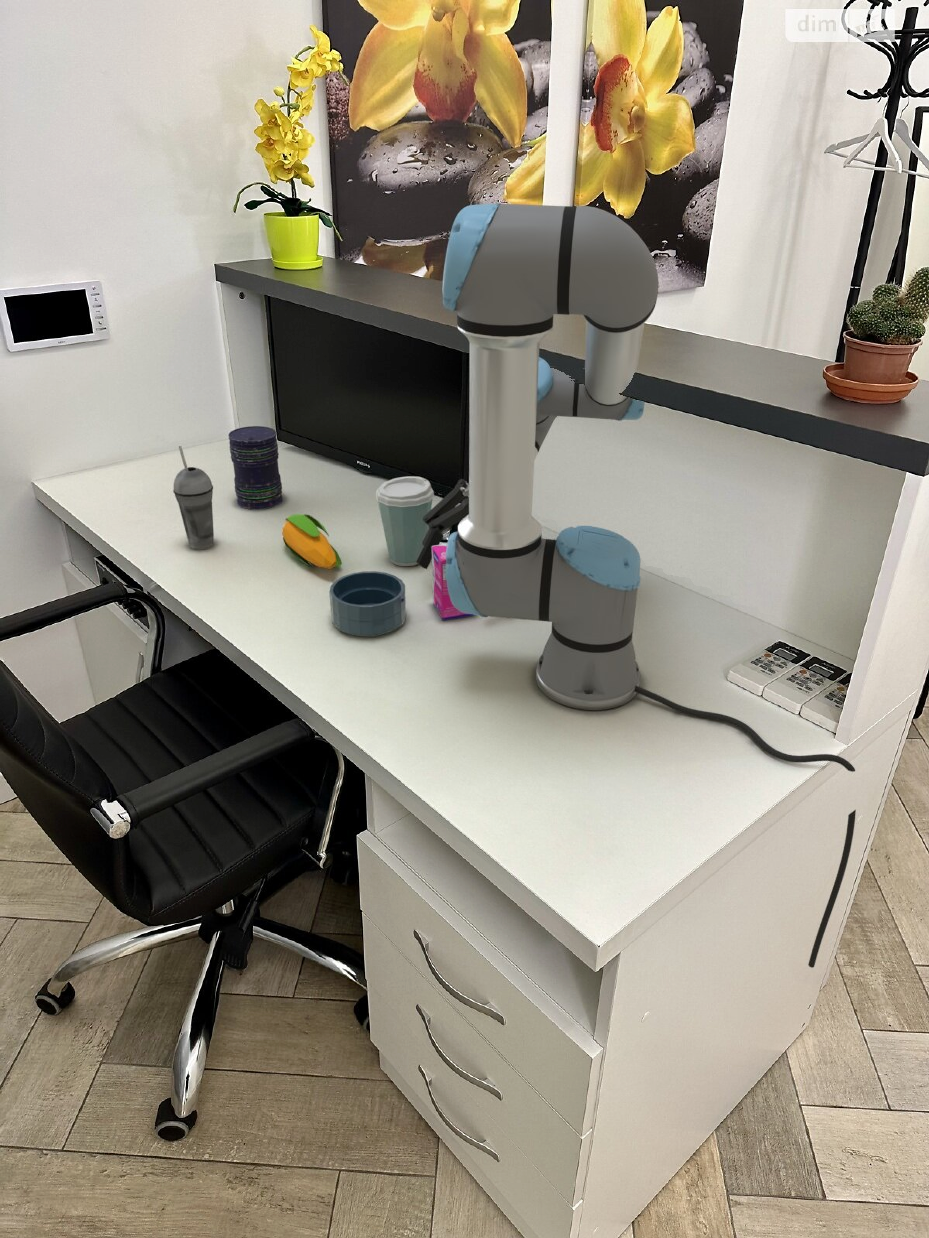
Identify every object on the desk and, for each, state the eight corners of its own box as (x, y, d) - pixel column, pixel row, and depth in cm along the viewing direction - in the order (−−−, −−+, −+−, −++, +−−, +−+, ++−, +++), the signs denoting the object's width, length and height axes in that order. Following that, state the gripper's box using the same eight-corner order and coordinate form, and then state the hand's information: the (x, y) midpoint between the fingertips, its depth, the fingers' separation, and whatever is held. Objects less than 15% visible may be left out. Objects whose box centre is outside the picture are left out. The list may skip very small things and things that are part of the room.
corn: (306, 500, 172) (351, 537, 157) (312, 535, 176) (356, 575, 161) (270, 510, 169) (313, 549, 154) (277, 546, 173) (319, 587, 158)
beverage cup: (223, 549, 171) (209, 449, 161) (184, 555, 168) (167, 454, 158) (218, 534, 177) (204, 437, 166) (180, 540, 174) (163, 441, 164)
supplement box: (431, 605, 153) (430, 544, 147) (464, 600, 154) (465, 540, 148) (441, 621, 148) (440, 559, 142) (474, 616, 149) (475, 555, 144)
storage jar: (239, 492, 195) (231, 426, 188) (284, 491, 196) (278, 425, 189) (233, 510, 187) (224, 442, 179) (281, 509, 188) (274, 441, 180)
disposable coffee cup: (392, 576, 162) (389, 499, 154) (369, 553, 170) (365, 479, 162) (444, 564, 166) (444, 489, 158) (419, 542, 174) (417, 469, 167)
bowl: (420, 623, 147) (419, 591, 144) (357, 647, 141) (355, 614, 138) (379, 595, 155) (378, 564, 152) (318, 616, 149) (315, 584, 146)
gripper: (577, 493, 147) (523, 607, 145) (458, 460, 160) (406, 564, 157) (563, 472, 141) (506, 591, 138) (439, 439, 154) (385, 548, 151)
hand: (452, 577), depth 148 cm, fingers open, 13 cm apart
